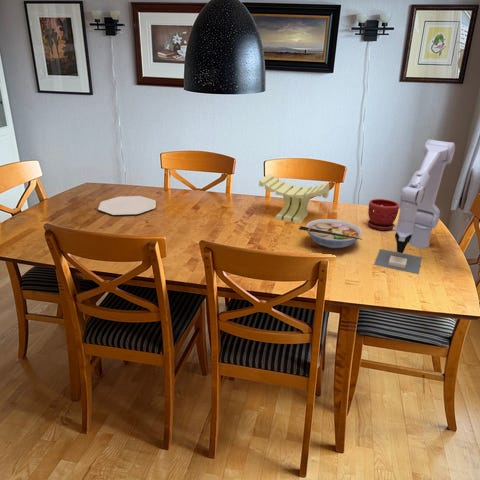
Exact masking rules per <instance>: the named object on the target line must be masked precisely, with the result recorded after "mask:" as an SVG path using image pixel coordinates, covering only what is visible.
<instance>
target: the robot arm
mask: <svg viewBox="0 0 480 480" xmlns="http://www.w3.org/2000/svg"><path fill="white" fill-rule="evenodd" d="M455 151H456V145H455V143H454V142H453V141H452V142H448V141H444V140H435V139H432V138H429V139H428V140H426V142H425V143H424V147H423V156H424V159H423V160H422V163H421V166H420V168H419V170H416V171H415V172H414V173H413V174H412V176H411V179H410V180H409V182H408V183H407V185H406V186H403V187H402V189H401V191H400V195H399V200H400V201H399V212H398V213H399V214H398V219H397V224H396V226H394V227H393V228H392V231H395V234H394V238H395V241H396V252H398V253H403V254H404V251H405V249H406V246H407V245H408V243H409V244H410V245H411V246H412V247H415V248H420V249H426V248H428V247H430V239H431V235H432V232H433V231H432V230H433V229H435V228H436V227H437V226H438V224H439V221H440V214H441V210H440V209H439V207H438V206H437V205H436V199H437V196H438V193H439V189H440V185H441V181H442V177H443V175H444V172H445V171H444V170H445V168H446V166H447V165H450V164H451V163H452V161H453V157H454V154H455Z"/></svg>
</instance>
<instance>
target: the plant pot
mask: <svg viewBox="0 0 480 480" xmlns="http://www.w3.org/2000/svg"><path fill="white" fill-rule="evenodd" d="M367 211H368V212H367V215H368V218H369V220H368V221H367V224H368V226H369V227H371V228H372V229H375V230H378V231H379V230H380V231H389V230H391V229H392V230H393V227H395V223H394V222H395V221H396V218H397V216H398V215H399V214H398V213H399V211H400V203H398V202H396V201H394V200H391V199H385V198H383V199H382V198H374V199H371V200H369V203H368V209H367Z"/></svg>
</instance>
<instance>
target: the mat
mask: <svg viewBox="0 0 480 480" xmlns="http://www.w3.org/2000/svg"><path fill="white" fill-rule="evenodd" d="M391 256H396V257H401V258H406V259H407V262H406V266H405V268H400V267H395V266H391V265H388V264H389V260H390V257H391ZM422 259H423V257H422V256H419V255H418V256H417V255H414V254H413V255H412V254H407V253H404V252H403V253H399V252H397V251H392V250H387V249H382V248H380V249H379V250H378V253H377V255H376V258H375V260H374V263H373V266H378V267H381V268H382V267H383V268H386V269H387V268H388V269H391V270H396V271H401V272H405V273H411V274H415V275H420V270H421V269H420V268H421V264H422Z"/></svg>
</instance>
